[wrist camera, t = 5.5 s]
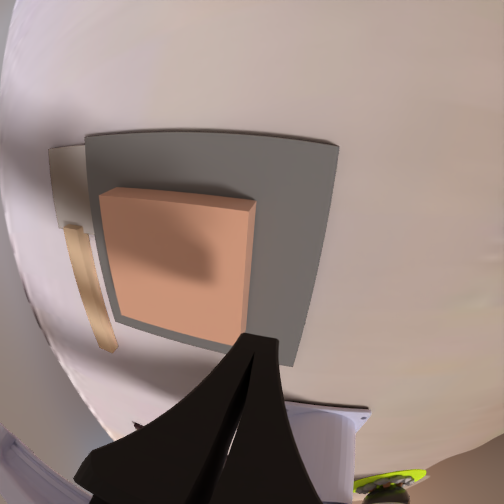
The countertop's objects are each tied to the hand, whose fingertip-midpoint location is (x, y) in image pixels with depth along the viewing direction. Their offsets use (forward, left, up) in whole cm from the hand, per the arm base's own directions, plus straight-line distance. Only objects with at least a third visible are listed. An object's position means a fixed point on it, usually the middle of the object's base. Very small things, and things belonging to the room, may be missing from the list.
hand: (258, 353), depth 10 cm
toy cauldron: (-40, -25, -6) cm, 47 cm away
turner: (-2, +14, -6) cm, 15 cm away
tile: (0, +1, -4) cm, 5 cm away
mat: (0, +5, -6) cm, 8 cm away
